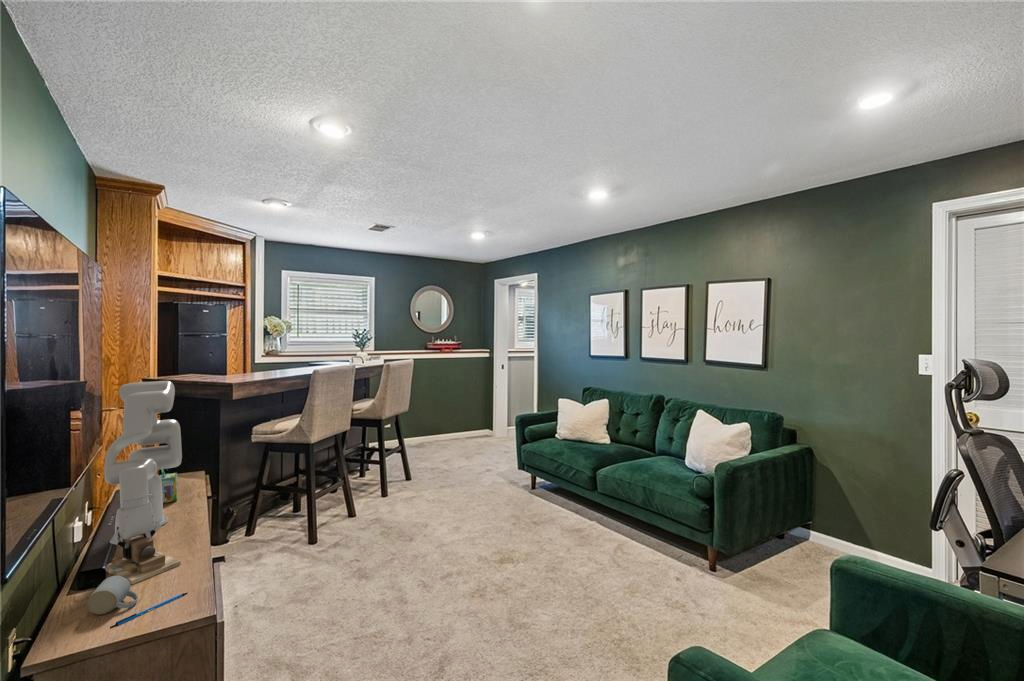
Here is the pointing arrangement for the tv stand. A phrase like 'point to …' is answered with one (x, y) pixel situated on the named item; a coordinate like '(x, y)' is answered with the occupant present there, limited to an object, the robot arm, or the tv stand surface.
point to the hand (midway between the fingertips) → (137, 554)
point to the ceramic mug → (111, 595)
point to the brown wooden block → (139, 549)
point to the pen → (146, 610)
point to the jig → (141, 567)
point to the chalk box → (169, 487)
